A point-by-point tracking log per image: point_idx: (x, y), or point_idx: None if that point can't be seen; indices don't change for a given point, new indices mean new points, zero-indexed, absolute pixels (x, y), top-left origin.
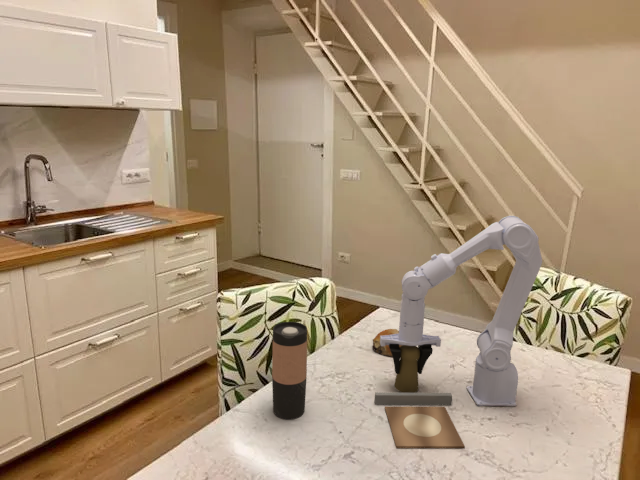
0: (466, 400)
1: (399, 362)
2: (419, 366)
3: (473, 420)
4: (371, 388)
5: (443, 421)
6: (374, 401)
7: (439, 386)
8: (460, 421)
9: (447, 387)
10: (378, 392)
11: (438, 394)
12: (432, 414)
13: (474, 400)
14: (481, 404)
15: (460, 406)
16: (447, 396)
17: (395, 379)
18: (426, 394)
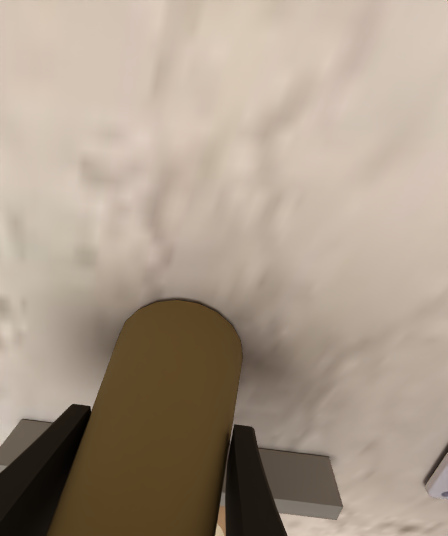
0: (408, 454)
1: (61, 495)
2: (228, 522)
3: (347, 527)
4: (4, 335)
5: None
6: (19, 424)
7: (359, 360)
8: (302, 525)
9: (394, 371)
10: (3, 466)
11: (279, 507)
12: (220, 510)
13: (436, 473)
14: (441, 496)
15: (355, 477)
16: (314, 513)
17: (109, 362)
18: (224, 500)
